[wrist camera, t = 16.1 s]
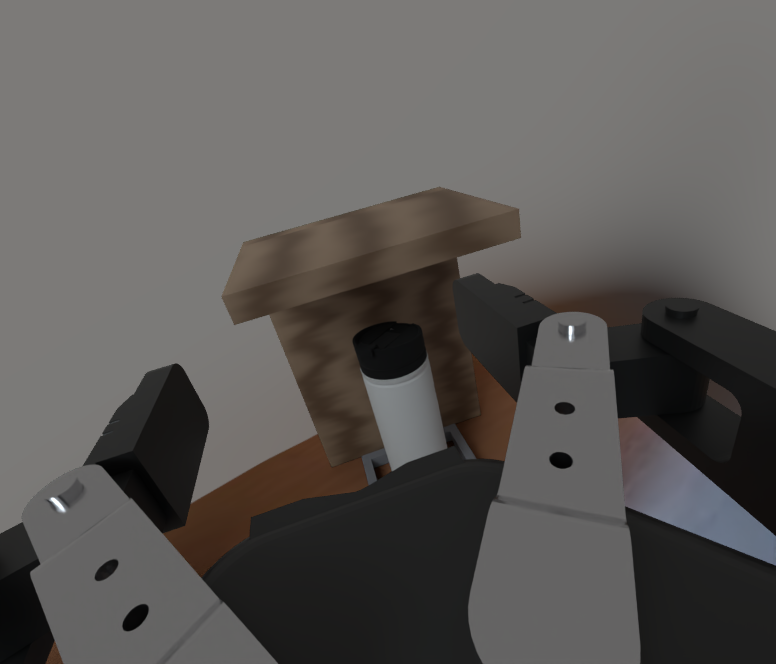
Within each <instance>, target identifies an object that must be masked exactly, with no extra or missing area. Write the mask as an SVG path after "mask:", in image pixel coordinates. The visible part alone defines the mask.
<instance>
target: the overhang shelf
mask: <svg viewBox="0 0 776 664" xmlns="http://www.w3.org/2000/svg"><path fill="white" fill-rule="evenodd" d="M520 232H521V231H520V218H519V209H517V208H514V207H510V206H507V205H503V204H500V203H496V202H492V201H489V200H485V199H481V198H478V197H474V196H471V195H467V194H463V193H460V192H456V191H452V190H449V189H445V188H441V187H437V188H433V189H430V190H427V191H423V192H419V193H416V194H412V195H409V196H405V197H401V198H398V199H395V200H391V201H387V202H384V203H380V204H377V205H373V206H370V207H366V208H363V209H359V210H356V211H352V212H349V213H345V214H342V215H338V216H334V217H331V218H328V219H324V220H320V221H317V222H313V223H310V224H306V225H302V226H299V227H296V228H292V229H288V230H285V231H282V232H278V233H274V234H271V235H267V236H264V237H260V238H256V239H253V240H249V241H246V242H243V245H242V247H241V249H240V252H239V254H238V257H237V260H236V262H235V265H234V267H233V270H232V272H231V274H230V277H229V279H228V282H227V284H226V287H225V289H224V292H223V294H222V299H223V301H224V303H225V305H226V308H227V310H228V312H229V314H230V316H231V318H232V321H233V323H234V325H236V324H239V323H243V322H246V321H249V320H252V319H255V318H259V317H262V316H266V315H270V318H271V320H272V323H273V325H274V328H275V330H276V332H277V335H278V337H279V340H280V342H281V345H282V347H283V349H284V352H285V355H286V357H287V359H288V362H289V364H290V367H291V369H292V371H293V374H294V376H295V379H296V381H297V384H298V386H299V389H300V391H301V394H302V396H303V399H304V401H305V403H306V406H307V408H308V411H309V413H310V415H311V418H312V421H313V423H314V426H315V428H316V430H317V433H318V435H319V438H320V440H321V443H322V445H323V448H324V450H325V452H326V455H327V457H328V460H329V462H330V465H331V467H334V466H337V465H339V464H342V463H345V462H348V461H351V460H354V459H357V458H359V457H362V456H363V455H366V454H369V453H372V452H374V451H377V450H380V449H383V448H385V447H384V444H383V441H382V438H381V434H380V431H379V428H378V425H377V422H376V418H375V415H374V412H373V409H372V406H371V402H370V399H369V396H368V393H367V389H366V386H365V383H364V380H363V375H362V373H361V370H360V365H359V361H358V358H357V355H356V352H355V349H354V345H353V342H352V341H353V337H354V336H355V335H356V334H357V333H358V332H359V331H361V330H362V329H364V328H366V327H369V326H372V325H375V324H378V323H383V322H390V321H397V323H408V324H412V323H414V324H417V325H419V326H420V327H421V329H422V333H423V337H424V342H425V347H426V350H427V353H428V359H429V363H430V367H431V372H432V377H433V382H434V386H435V391H436V396H437V400H438V405H439V410H440V415H441V419H442V424H443V427H446V426H449V425H451V424H454V423H455V424H456V423H459V422H462V421H465V420H468V419H471V418H473V417H476V416H479V415H481V413H480V407H479V400H478V394H477V387H476V380H475V374H474V367H473V361H472V354H471V352H470V351H469V349H468V348H467V347H466V346H465V344H464V343H463V341H462V338H461V336H460V333H459V329H458V322H457V316H456V309H455V302H454V295H453V287H452V286H453V281H454V280H457V279H460V275H459V269H458V262H457V257H460V256H462V255H466V254H469V253H473V252H476V251H479V250H483V249H486V248H489V247H492V246H496V245H499V244H502V243H506V242H509V241H512V240H515V239H518V238H521V233H520Z"/></svg>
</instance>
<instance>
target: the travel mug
mask: <svg viewBox="0 0 776 664" xmlns="http://www.w3.org/2000/svg"><path fill="white" fill-rule="evenodd" d="M352 342H353V345H354V349H355V352H356V355H357V358H358V361H359V365H360V370H361V373H362V375H363V380H364V383H365V386H366V389H367V393H368V396H369V399H370V402H371V406H372V409H373V412H374V415H375V418H376V422H377V425H378V428H379V431H380V434H381V438H382V441H383V444H384V447H385V451H386V454H387V457H388V460H389V463H390V467H391V470H392V471H394V470H395V469H397V468H399V467H400V466H402V465H404V464H405V463H407V462H410V461H413V460H415V459H418V458H421V457H424V456H427V455H430V454H432V453H435V452H438V451H441V450H444V449H447V443H446V438H445V433H444V429H443V424H442V419H441V415H440V410H439V405H438V400H437V396H436V391H435V386H434V382H433V377H432V372H431V367H430V363H429V359H428V353H427V350H426V347H425V342H424V337H423V333H422V329H421V327H420V326H419V325H417V324H414V323H412V324H408V323H397V321H390V322H383V323H378V324H375V325H372V326H369V327H366V328H364V329H362V330H361V331H359V332H358V333H357V334H356V335H355V336H354V337H353V341H352Z"/></svg>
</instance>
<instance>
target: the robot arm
mask: <svg viewBox="0 0 776 664" xmlns="http://www.w3.org/2000/svg"><path fill="white" fill-rule="evenodd" d="M452 287H453V295H454V302H455V309H456V316H457V322H458V329H459V333H460V336H461V338H462V341H463V343H464V344H465V346H466V347H467V348H468V349H469V351H470V352H471V353H472V354H473V355H474V356H475V357H476V358H477V359H478V360H479V362H480V363H481V364H482V365H483V366H484V367H485V368H486V369H487V370H488V371H489V373H490V374H491V375H492V376H493V377H494V378H495V379H496V380H497V381H498V383H499V384H500V385H501V386H502V387H503V388H504V389H505V390H506V391H507V392H508V394H509V395H510V396H511V397H512V398H513V399H514V400H515V401H516V402H517V406H516V411H515V416H514V420H513V425H512V430H511V435H510V439H509V444H508V449H507V453H506V458H505V461H500V460H493V459H467V460H463V459H462V458H461V456H460V454H459V452H458V451H457V449H456V447H455V446H452V447H449V448H447V449H444V450H441V451H438V452H435V453H432V454H430V455H427V456H424V457H421V458H418V459H415V460H413V461H410V462H407V463H405V464H404V465H402V466H400V467H399V468H397V469H395V470H394V471H392V472H390V473H389V474H387V475H385V476H384V477H382V478H380V479H379V480H377V481H375V482H374V483H372V484H370V485H369V486H367V487H365V488H364V489H362V490H360V491H357V492H352V493H344V494H337V495H330V496H322V497H315V498H307V499H302V500H299V501H296V502H294V503H291V504H288V505H285V506H282V507H279V508H277V509H274V510H271V511H268V512H265V513H262V514H260V515H257V516H254V517H251V525H250V537H248V538H247V539H245V540H243V541H242V542H240V543H239V544H238V545H236V546H235V547H233V548H232V549H231V550H230V551H228V552H227V553H226V554H225V555H224V556H222V557H221V558H220V559H219V560H218V561H217V562H216V563H215V564H214V565H213V566H212V567H211V568H210V569H209V570H208V571H207V572H206V573H205V574H204V575H203V577H202V578H201V577H200V576H199V575H198V574H197V573H196V572H195V571H194V569H193V568H192V567H191V566H190V565H189V564H188V563H187V561H186V560H185V559H184V558H183V557H182V556H181V555H180V553H179V552H178V551H177V550H176V549H175V548H174V546H173V545H172V544H171V543H170V542H169V541H168V540H167V538H166V537H165V536H164V535H163V533H165V532H168V531H171V530H174V529H177V528H179V527H182V526H185V524H186V520H187V516H188V512H189V508H190V503H191V499H192V495H193V491H194V487H195V483H196V479H197V475H198V470H199V466H200V462H201V458H202V454H203V450H204V446H205V442H206V438H207V434H208V430H209V421H208V416H207V412H206V410H205V407H204V405H203V404H202V402H201V400H200V398H199V396H198V395H197V393H196V391H195V389H194V388H193V386H192V384H191V382H190V380H189V378H188V376H187V375H186V373H185V371H184V369H183V368H182V367H181V366H180V365H179V364H172V365H169V366H166V367H162V368H159V369H156V370H152V371H149V372H147V373H146V374H145V376H144V378H143V379H142V381H141V383H140V385H139V386H138V388H137V390H136V392H135V393H134V395H132V396H130V397H129V398H128V399H127V400H126V401H125V402H124V403H123V404H122V405H121V406H120V407H119V408H118V409H117V410H116V412H115V413H114V415H113V417H112V418H111V420H110V422H109V423H110V424H109V425H107V427H106V428H105V430H104V432H103V436H101V437H100V438H99V440H98V442H97V443H96V445H95V446H94V448H93V450H92V451H91V453H90V455H89V457H88V458H87V460H86V461H85V463H84V465H83V466H82V467H79V468H76V469H74V470H72V471H69V472H67V473H65V474H63V475H62V476H60V477H58V478H56V479H55V480H53V481H52V482H50V483H49V484H48V485H46V486H45V487H44V488H43V489H42V490H40V491H39V492H38V493H37V494H36V495H35V496H34V497H33V498H32V499H31V500H30V502H29V503H28V504H27V506H26V507H25V509H24V511H23V513H22V521H23V522H22V523H20V524H18V525H16V526H14V527H12V528H10V529H9V530H6V531H5V532H3V533H1V534H0V664H45V663H46V661H47V658H48V656H49V653H50V651H51V648H52V646H53V643H54V641H55V642H56V645H57V647H58V650H59V653H60V655H61V658H62V661H63V663H64V664H776V566H775V565H772V564H770V563H767V562H765V561H762V560H760V559H757V558H755V557H752V556H750V555H747V554H745V553H742V552H739V551H737V550H734V549H732V548H729V547H727V546H724V545H722V544H719V543H717V542H714V541H712V540H709V539H706V538H704V537H701V536H699V535H696V534H694V533H691V532H689V531H686V530H684V529H681V528H678V527H676V526H673V525H671V524H668V523H666V522H663V521H661V520H658V519H656V518H653V517H651V516H648V515H646V514H643V513H640V512H638V511H635V510H633V509H630V508H628V507H625V502H624V490H623V478H622V465H621V453H620V441H619V428H618V418H627V417H638V418H639V419H640V420H641V421H642V422H644V423H645V424H646V425H647V426H648V427H649V428H651V429H652V430H653V431H654V432H655V433H656V434H658V435H659V436H660V437H661V438H662V439H663V440H665V441H666V442H667V443H668V444H669V445H670V446H672V447H673V448H674V449H675V450H676V451H677V452H679V453H680V454H681V455H682V456H683V457H684V458H686V459H687V460H688V461H689V462H690V463H691V464H693V465H694V466H695V467H696V468H697V469H698V470H700V471H701V472H702V473H703V474H704V475H705V476H707V477H708V478H709V479H710V480H711V481H712V482H714V483H715V484H716V485H717V486H718V487H719V488H721V489H722V490H723V491H724V492H725V493H726V494H728V495H729V496H730V497H731V498H732V499H733V500H735V501H736V502H737V503H738V504H739V505H740V506H742V507H743V508H744V509H745V510H746V511H747V512H749V513H750V514H751V515H752V516H753V517H754V518H756V519H757V520H758V521H759V522H760V523H761V524H763V525H764V526H765V527H766V528H767V529H768V530H770V531H771V532H772V533H773V534H774V535H775V536H776V331H774V330H771V329H769V328H767V327H764V326H762V325H759V324H757V323H755V322H752V321H750V320H748V319H745V318H743V317H740V316H738V315H735V314H733V313H731V312H729V311H726V310H724V309H721V308H719V307H716V306H714V305H712V304H709V303H707V302H704V301H700V300H695V299H687V298H668V299H661V300H656V301H654V302H651V303H649V304H647V305H646V306H645V307H644V308H643V313H642V323H640V324H633V325H625V326H617V327H609V328H608V327H607V325H606V323H605V321H603V320H602V319H601V318H599V317H597V316H595V315H592V314H588V313H582V312H565V313H558V314H557V313H555V312H554V311H552V310H551V309H549V308H547V307H546V306H544V305H543V304H541V303H540V302H538V301H536V300H534V299H533V298H532V297H530V296H528V295H525V293H523V292H522V291H520V290H519V289H517V288H515V287H513V286H508V285H504V284H500V283H498V284H494V283H492V282H491V281H489V280H488V279H486V278H485V277H483V276H482V275H480V274H478V273H476V274H473V275H470V276H467V277H463V278H460V279H457V280H454V281H453V286H452ZM710 379H711V380H713V381H714V382H716V383H718V384H719V385H721V386H723V387H724V388H726V389H727V390H729V391H730V392H731V393H732V394H733V395H734V396H735V397H736V399H737V400H738V402H739V404H740V406H741V410H742V416H741V417H740V416H739V415H737V414H735V413H734V412H732V411H731V410H729V409H728V408H726V407H725V406H723V405H722V404H720V403H719V402H717V401H716V400H714V399H712V398H711V397H709V396H708V395H707V390H708V385H709V380H710Z"/></svg>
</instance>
